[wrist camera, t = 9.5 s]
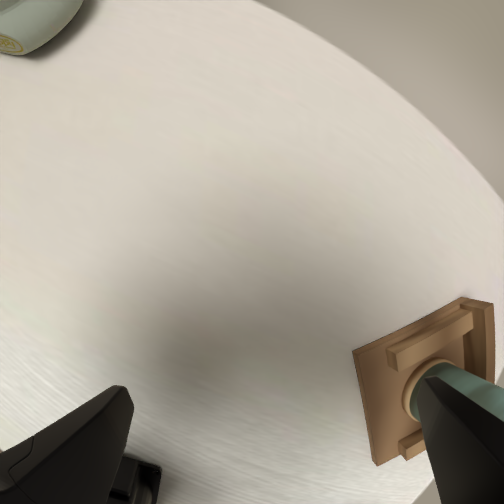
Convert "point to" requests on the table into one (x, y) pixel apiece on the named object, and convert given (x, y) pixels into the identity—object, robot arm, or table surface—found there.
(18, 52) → the air freshener
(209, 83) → the table surface
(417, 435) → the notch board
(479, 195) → the table surface
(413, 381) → the oak spool
